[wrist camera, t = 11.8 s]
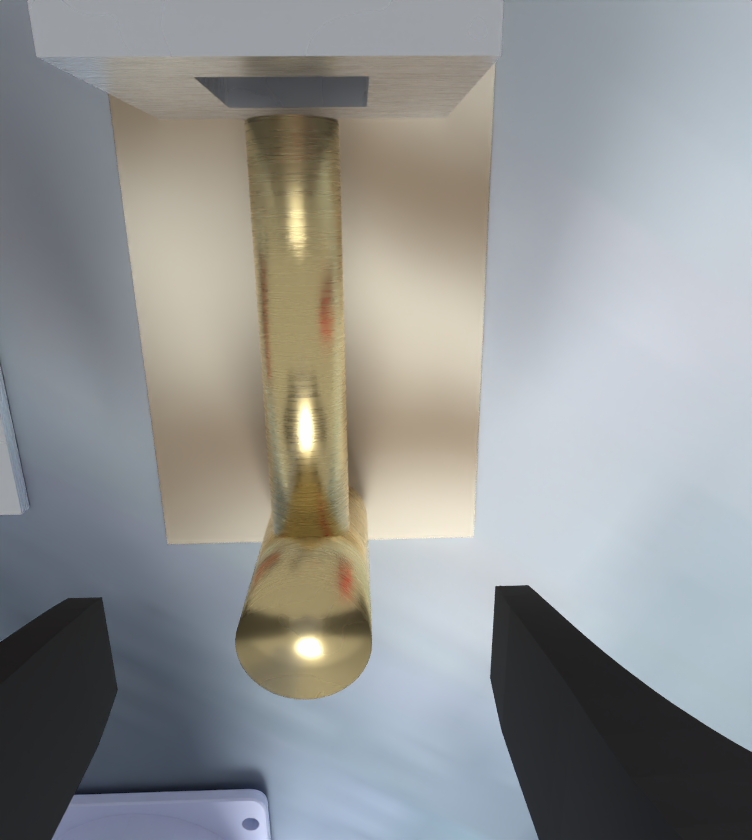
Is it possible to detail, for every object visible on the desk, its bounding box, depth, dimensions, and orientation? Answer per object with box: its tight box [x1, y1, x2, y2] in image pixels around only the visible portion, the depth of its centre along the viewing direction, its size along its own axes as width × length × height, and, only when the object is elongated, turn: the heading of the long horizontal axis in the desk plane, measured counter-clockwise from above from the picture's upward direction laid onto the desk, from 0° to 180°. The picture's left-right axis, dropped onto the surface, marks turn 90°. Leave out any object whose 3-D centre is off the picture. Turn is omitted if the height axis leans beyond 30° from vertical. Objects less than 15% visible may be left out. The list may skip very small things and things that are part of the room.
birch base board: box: [108, 63, 495, 544], centre depth 13 cm, size 19×8×1 cm, turn 0°
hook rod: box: [235, 114, 372, 699], centre depth 12 cm, size 10×2×5 cm, turn 0°
